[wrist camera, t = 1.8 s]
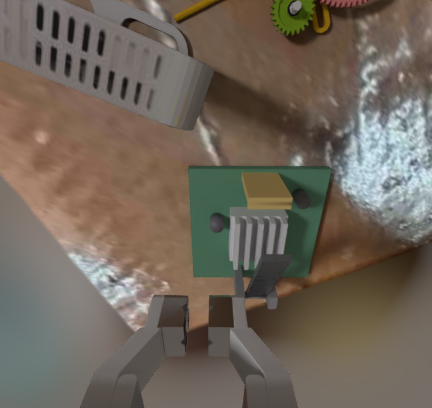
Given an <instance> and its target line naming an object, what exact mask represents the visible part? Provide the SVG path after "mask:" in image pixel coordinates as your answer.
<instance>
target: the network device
mask: <svg viewBox="0 0 432 408" xmlns="http://www.w3.org/2000/svg"><path fill="white" fill-rule="evenodd" d="M90 1H91V3H92V5H93V8H94V13H91V12H89V11H87V10H85V9H82V8H80V7H78V6H76V5H73V4H71V3H69V2H67V1H64V0H0V60H1V61H4V62H6V63H9V64H11V65H14V66H16V67H19V68H21V69H24V70H27V71H29V72H32V73H34V74H37V75H39V76H42V77H44V78H47V79H50V80H52V81H55V82H57V83H60V84H62V85H65V86H68V87H70V88H73V89H75V90H78V91H80V92H83V93H85V94H88V95H91V96H93V97H96V98H98V99H101V100H103V101H106V102H109V103H111V104H114V105H116V106H119V107H121V108H124V109H126V110H129V111H132V112H134V113H137V114H139V115H142V116H144V117H147V118H150V119H152V120H155V121H157V122H160V123H162V124H165V125H168V126H171V127H174V128H177V129H182V130H193V129H194V127H195V124H196V121H197V119H198V116H199V113H200V110H201V108H202V105H203V102H204V99H205V96H206V93H207V91H208V88H209V85H210V82H211V79H212V76H213V73H214V70H215V68H213V67H211V66H209V65H207V64H205V63H203V62H201V61H199V60H197V59H195V58H192V57H190V56H188V47H187V43H186V41H185V38H184V37H183V35H182V34H181V32H180V31H179V30H178V29H177V28H176V27H174V26H172V25H171V24H169V23H167V22H164V21H162V20H160V19H158V18H156V17H154V16H151V15H149V14H147V13H145V12H143V11H141V10H138V9H136V8H134V7H132V6H130V5H128V4H125V3H123V2H121V1H119V0H90ZM128 19H136V20H138V21H140V22H142V23H144V24H147V25H149V26H151V27H153V28H155V29H158V30H160V31H162V32H164V33H166V34H169V35H171V36H173V37H174V38H175V39H176V41H177V43H178V48H179V49H178V51H177V50H174V49H172V48H170V47H168V46H165V45H163V44H161V43H159V42H156V41H154V40H152V39H150V38H147V37H145V36H143V35H141V34H139V33H136V32H134V31H132V30H130V29H127V28H125V27H123V24H124V22H125V21H126V20H128Z"/></svg>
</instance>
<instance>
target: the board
mask: <svg viewBox="0 0 432 408" xmlns="http://www.w3.org/2000/svg"><path fill="white" fill-rule="evenodd" d="M188 171H189V192H190V213H191V234H192V255H193V276H194V277H234V287H235V295H243V297H244V302H245V292H244V284H243V277H252V276H253V273H254V271H255V269H256V266H257V264H258V261H259V259H260V257H261V254H291V258H292V262H291V264H290V265H289V267H288V268H287V269H286V271H285V272H284V273H283V275H282V276H281V277H308V273H309V268H310V264H311V259H312V255H313V250H314V246H315V242H316V237H317V233H318V228H319V224H320V219H321V215H322V211H323V206H324V202H325V197H326V193H327V188H328V184H329V180H330V175H331V171H332V169H331V168H330V167H328V166H189V168H188ZM266 301H267V306H268V309H276V307H277V301H278V296H277V292H276V288H275V285H274V287H273V288H272V289H271V291H270V292H269V294H268V295H267V296H266Z"/></svg>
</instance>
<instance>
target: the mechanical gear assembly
mask: <svg viewBox="0 0 432 408" xmlns="http://www.w3.org/2000/svg"><path fill="white" fill-rule="evenodd" d="M217 1H219V0H203V1H201V2H199V3H197V4H195V5H193V6H191V7H189V8H188V9H186V10H184V11H182V12H180V13H178V14H176V15H174V18H175V21H176V22H178V21H180V20H182V19H184V18H186V17H188V16H190V15H192V14H194V13H196V12H198V11H200V10H202V9H204V8H206V7H208V6H209V5H211V4H213V3H215V2H217ZM315 1H317V0H315ZM368 1H370V0H320V4H321V9H322V15H323V20H324V26H323V28H320V27H319V26H318V21H317V15H316V10H315V6H316V5H314V0H273V2H274V3H275V4H273V5H272V6H271V8H272V9H273V11H272V12H271V13H270V14H271V15H274V17H273V18H272V19H271V21H275V24H274V25H273V26H277V25H278V28H277V30H276V31H278V30H280V29H281V34H283V33H284V32H285V31H286V36H287V35H288V34H289V32H290V33H291V36H293V35H294V32H296V34H299V31H300V30H301V31H303V30H305V29H304V26H308V25H309V24H308V21H311V22H312V27H313V30H314V32H316V33H319V34H320V33H323V32H324V31H326V30H327V29H328V27H329V26H330V17H329V11H328V4H329V2H330V4H329V7H332V6H333V5H334V7H335V8H337V7H339V5H340V8H343V7H344V6H345V8H348V7H350V6H351V7H353V6H355V5H356V6H358V5H360V4H361V3H362V4H363V3H365V2H368Z"/></svg>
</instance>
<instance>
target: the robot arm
mask: <svg viewBox="0 0 432 408" xmlns="http://www.w3.org/2000/svg"><path fill="white" fill-rule="evenodd" d="M188 303H189V300H188V296H183V295H154V296H153V297H152V300H151V304H150V307H149V311H148V315H147V318H146V322H145V325H144V328H139V329H138V330H137V331H136V332H135V333H134V334H133V335H132V336H131V337H130V338H129V339H128V340H127V341H126V342H125V343H124V344H123V345H122V346H121V347H120V348H119V349H118V350H117V351H116V352H115V353H114V354H113V355H112V356H111V357H110V358H109V359H108V360H107V361H106V362H105V363H104V364H103V365H102V366H101V367H100V368H99V369H98V370H96V371H95V372H94V374H93V377H92V379H91V382H90V384H89V387H88V389H87V392H86V394H85V396H84V399H83V401H82V404H81V406H80V408H144V404H143V399H142V396H141V391H142V390H143V388H144V387H145V386H146V384H147V383H148V382H149V380H150V379H151V377H152V376H153V375H154V373H155V372H156V370H157V369H158V368H159V366H160V365H161V363H162V362H163V361H164V359H165V357H172V356H186V348H187V332H188V329H189V308H188ZM209 356H216V357H229V359H230V360H231V362H232V364H233V366H234V367H235V369H236V371H237V372H238V374H239V376H240V378H241V379H242V381H243V383H244V384H245V388H244V397H243V406H242V408H298V406H297V402H296V398H295V394H294V390H293V385H292V381H291V377H290V374H289V373H288V371H287V370H286V369H285V368H284V367H283V365H282V364H281V363H280V362H279V361H278V360H277V358H276V357H275V356H274V355H273V353H272V352H271V351H270V350H269V349H268V348H267V346H266V345H265V344H264V343H263V342H262V340H261V339H260V338H259V337H258V336H257V334H256V333H255V332H254V331H253V330H252V328H248V326H247V318H246V310H245V302H244V297H243V295H232V296H231V295H209Z"/></svg>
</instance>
